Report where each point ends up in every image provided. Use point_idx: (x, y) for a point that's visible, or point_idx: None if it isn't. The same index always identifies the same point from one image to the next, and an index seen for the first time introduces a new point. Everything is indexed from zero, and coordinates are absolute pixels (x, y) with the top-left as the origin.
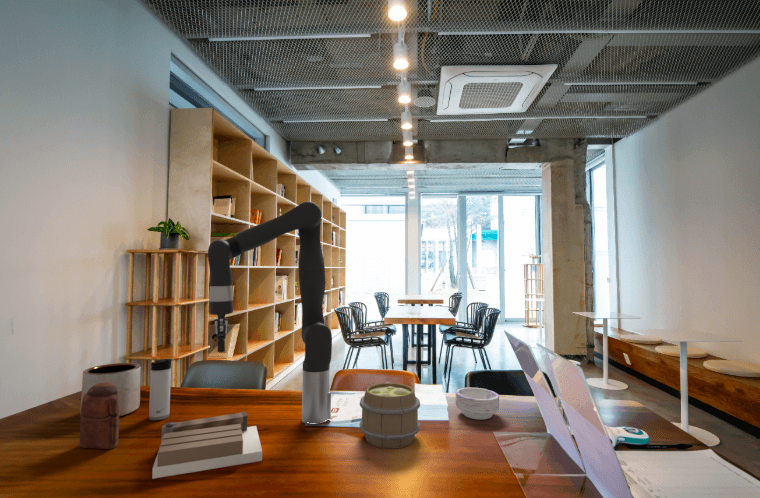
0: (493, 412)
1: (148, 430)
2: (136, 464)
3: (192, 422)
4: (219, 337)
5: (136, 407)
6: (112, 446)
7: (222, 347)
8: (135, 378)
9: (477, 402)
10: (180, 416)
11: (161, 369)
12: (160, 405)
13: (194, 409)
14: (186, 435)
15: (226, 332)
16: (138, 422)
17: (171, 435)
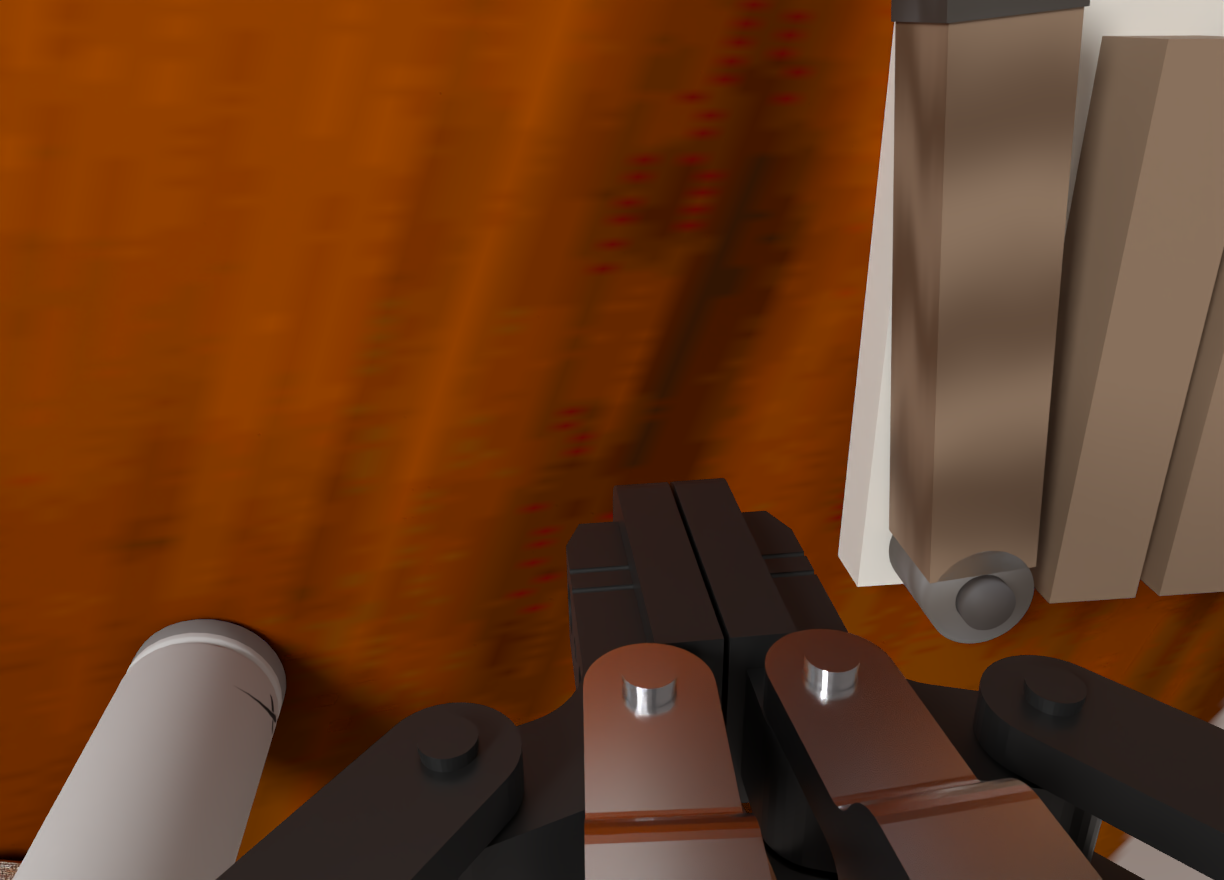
0: None
1: (490, 687)
2: (1018, 636)
3: (993, 454)
4: (1089, 852)
5: (16, 871)
6: (741, 804)
7: (796, 570)
8: None
9: None
10: (226, 535)
11: None
12: (260, 739)
13: (42, 448)
14: (1169, 461)
15: (1029, 792)
16: (297, 777)
17: (1111, 554)
